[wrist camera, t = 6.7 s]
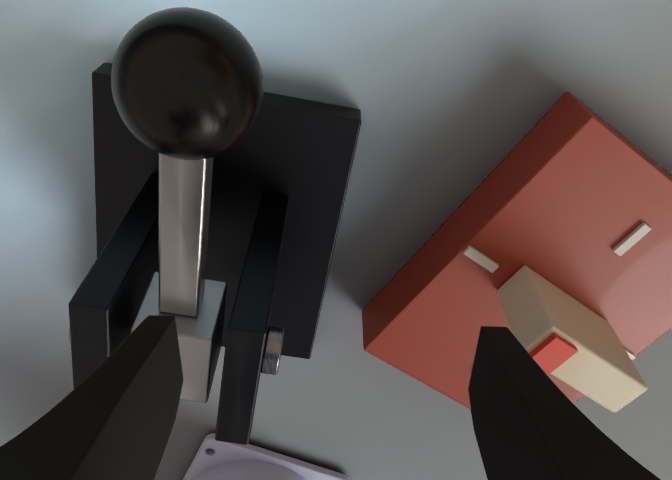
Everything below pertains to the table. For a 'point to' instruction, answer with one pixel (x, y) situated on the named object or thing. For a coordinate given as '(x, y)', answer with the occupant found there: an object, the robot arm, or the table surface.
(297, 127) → the black lever mount
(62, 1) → the table surface
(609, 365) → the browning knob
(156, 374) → the robot arm
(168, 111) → the lever
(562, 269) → the dial panel
